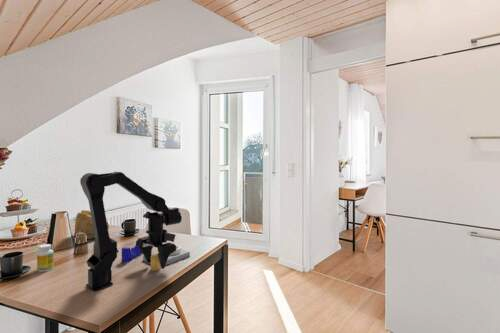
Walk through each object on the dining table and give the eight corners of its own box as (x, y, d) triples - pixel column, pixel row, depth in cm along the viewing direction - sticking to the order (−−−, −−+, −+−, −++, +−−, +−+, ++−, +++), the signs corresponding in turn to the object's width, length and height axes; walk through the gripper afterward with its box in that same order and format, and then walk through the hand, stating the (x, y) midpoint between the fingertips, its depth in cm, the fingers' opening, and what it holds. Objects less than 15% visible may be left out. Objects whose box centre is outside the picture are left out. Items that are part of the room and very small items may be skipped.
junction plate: (160, 267, 116) (160, 257, 116) (143, 260, 123) (143, 251, 123) (189, 256, 129) (189, 247, 129) (172, 250, 136) (172, 242, 136)
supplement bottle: (41, 267, 114) (41, 243, 114) (56, 266, 115) (55, 243, 115) (34, 272, 109) (33, 248, 109) (49, 271, 110) (49, 247, 110)
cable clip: (135, 252, 133) (134, 239, 133) (143, 253, 133) (143, 240, 132) (118, 261, 122) (118, 248, 121) (128, 262, 121) (128, 248, 121)
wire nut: (154, 271, 111) (154, 257, 111) (148, 269, 114) (148, 254, 113) (163, 268, 115) (163, 254, 114) (157, 266, 117) (157, 252, 117)
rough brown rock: (107, 243, 149) (109, 214, 149) (70, 244, 142) (73, 214, 142) (108, 233, 170) (110, 208, 171) (76, 233, 163) (78, 208, 163)
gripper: (186, 227, 115) (186, 265, 115) (158, 220, 125) (158, 255, 126) (164, 233, 106) (164, 274, 106) (135, 225, 116) (135, 262, 117)
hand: (155, 265), depth 114 cm, fingers open, 9 cm apart
